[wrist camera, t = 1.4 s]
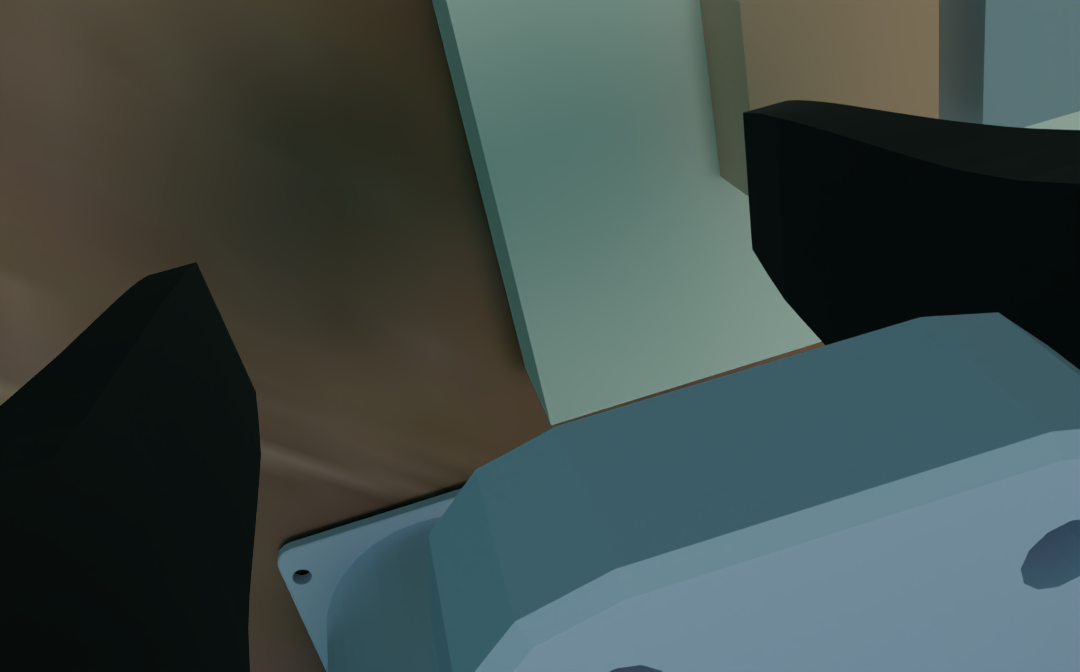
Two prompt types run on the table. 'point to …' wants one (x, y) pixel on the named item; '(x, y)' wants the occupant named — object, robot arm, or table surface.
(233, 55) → the table surface
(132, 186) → the table surface
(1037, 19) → the tile
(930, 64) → the tile
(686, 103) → the large sage green panel
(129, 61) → the table surface
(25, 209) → the table surface
